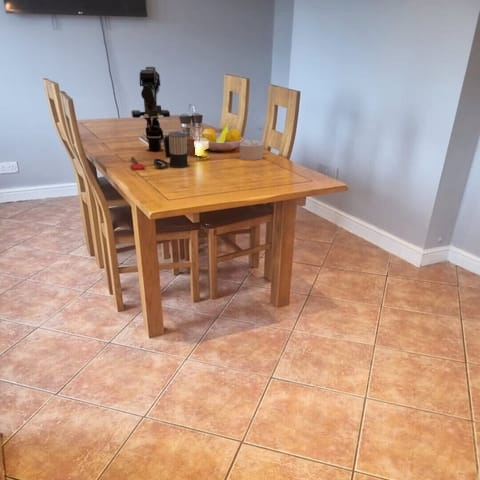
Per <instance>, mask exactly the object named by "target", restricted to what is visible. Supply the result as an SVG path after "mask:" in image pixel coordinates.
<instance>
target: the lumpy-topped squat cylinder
mask: <svg viewBox="0 0 480 480" xmlns="http://www.w3.org/2000/svg"><path fill="white" fill-rule="evenodd" d="M238 148H239V149H238V151H239V152H238V154H239V156H238V159H239V160H243V161H257V160H261V159H264V151H265V150H264V149H265V145H264V143H263V142H262V141H261V140H258V139H252V140H250V139H249V138H246V139H243V141H242V143H240V146H239V147H238Z"/></svg>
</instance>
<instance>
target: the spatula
mask: <svg viewBox="0 0 480 480" xmlns="http://www.w3.org/2000/svg"><path fill="white" fill-rule="evenodd" d="M131 161H132V162H133V163H132V164H130V166H131V169H132V170H133V171H141V170H142V171H144V170H146V168H145V165H143V163H138V162H137V160H136V158H135V157H134V156H131Z"/></svg>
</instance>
